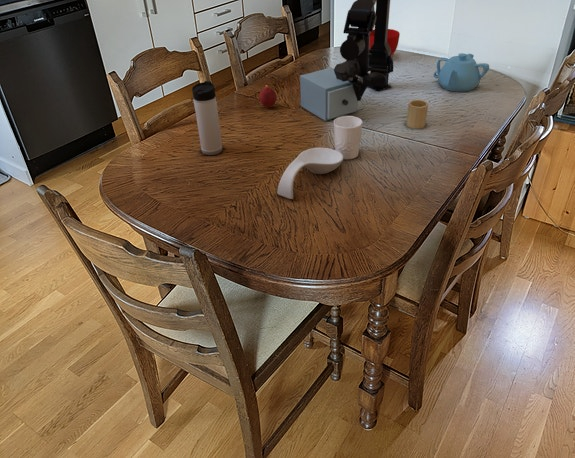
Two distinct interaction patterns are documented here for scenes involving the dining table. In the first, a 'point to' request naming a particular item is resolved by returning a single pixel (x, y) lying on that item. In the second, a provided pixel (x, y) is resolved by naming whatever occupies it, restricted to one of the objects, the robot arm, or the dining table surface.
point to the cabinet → (319, 91)
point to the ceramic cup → (388, 39)
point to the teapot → (460, 72)
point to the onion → (267, 97)
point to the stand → (417, 114)
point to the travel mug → (207, 118)
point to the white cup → (347, 136)
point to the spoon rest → (309, 167)
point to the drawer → (341, 101)
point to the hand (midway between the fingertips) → (358, 100)
